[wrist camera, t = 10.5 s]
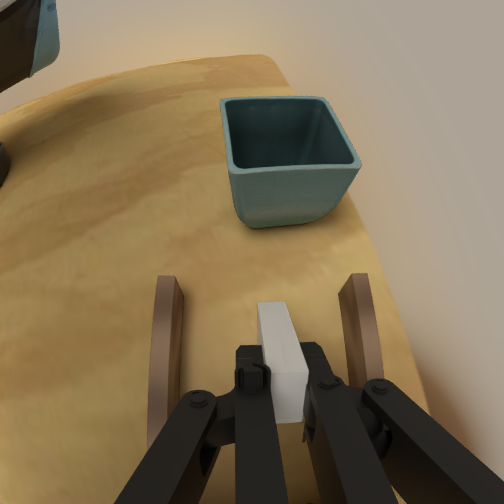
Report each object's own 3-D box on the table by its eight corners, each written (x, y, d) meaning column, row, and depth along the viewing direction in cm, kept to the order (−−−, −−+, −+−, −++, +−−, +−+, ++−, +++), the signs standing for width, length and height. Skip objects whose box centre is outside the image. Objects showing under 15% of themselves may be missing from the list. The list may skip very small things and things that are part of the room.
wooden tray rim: (168, 296, 23) (157, 275, 20) (352, 293, 24) (367, 273, 21) (164, 517, 14) (151, 531, 11) (370, 505, 15) (390, 516, 12)
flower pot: (334, 241, 26) (365, 166, 19) (231, 252, 26) (228, 173, 18) (309, 169, 31) (325, 95, 23) (222, 175, 30) (218, 97, 22)
